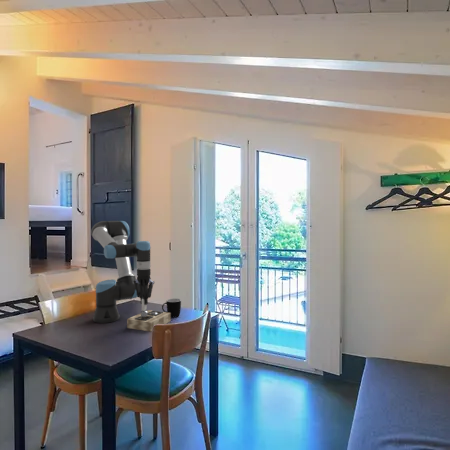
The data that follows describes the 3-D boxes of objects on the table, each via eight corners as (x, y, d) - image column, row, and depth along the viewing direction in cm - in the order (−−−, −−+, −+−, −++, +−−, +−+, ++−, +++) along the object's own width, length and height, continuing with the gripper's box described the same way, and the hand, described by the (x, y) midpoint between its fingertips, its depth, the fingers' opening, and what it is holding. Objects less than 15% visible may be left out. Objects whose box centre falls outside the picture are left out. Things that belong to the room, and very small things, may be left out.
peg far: (150, 321, 207) (150, 313, 207) (153, 319, 211) (153, 311, 211) (155, 322, 206) (155, 314, 206) (158, 320, 209) (158, 312, 209)
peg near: (139, 320, 198) (139, 311, 198) (143, 318, 201) (143, 310, 201) (144, 320, 197) (144, 312, 197) (148, 319, 200) (148, 310, 200)
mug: (182, 314, 224) (182, 298, 224) (179, 318, 215) (179, 302, 215) (164, 313, 225) (164, 298, 225) (160, 318, 216) (159, 301, 216)
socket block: (127, 327, 198) (127, 318, 198) (148, 318, 216) (148, 309, 216) (150, 331, 192) (150, 321, 191) (170, 321, 210) (170, 312, 210)
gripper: (130, 268, 197) (130, 310, 198) (149, 270, 192) (149, 313, 193) (138, 266, 204) (138, 307, 205) (157, 268, 199) (157, 309, 200)
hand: (144, 310), depth 199 cm, fingers closed
